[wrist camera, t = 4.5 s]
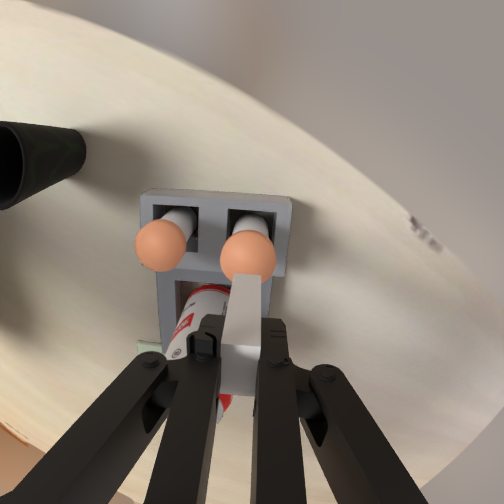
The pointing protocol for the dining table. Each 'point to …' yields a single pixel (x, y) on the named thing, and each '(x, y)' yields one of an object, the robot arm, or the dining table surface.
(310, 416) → the robot arm
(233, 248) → the ball
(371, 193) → the dining table surface
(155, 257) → the plunger inner
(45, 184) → the cup
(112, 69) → the dining table surface
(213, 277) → the grey rack with holes
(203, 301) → the beer can
